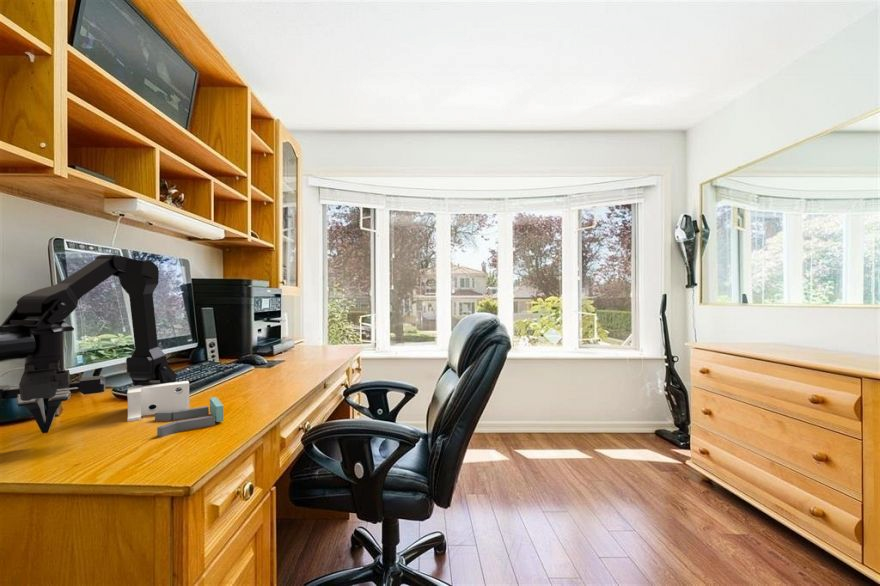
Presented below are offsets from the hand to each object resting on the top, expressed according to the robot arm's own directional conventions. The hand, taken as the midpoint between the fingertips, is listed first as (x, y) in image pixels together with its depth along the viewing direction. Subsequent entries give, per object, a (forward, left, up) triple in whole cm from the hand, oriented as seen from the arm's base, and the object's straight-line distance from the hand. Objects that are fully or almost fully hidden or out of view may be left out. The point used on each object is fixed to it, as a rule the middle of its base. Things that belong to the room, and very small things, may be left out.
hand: (45, 432), depth 82 cm
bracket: (-17, +20, +1) cm, 26 cm away
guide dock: (0, +19, -3) cm, 19 cm away
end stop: (0, +31, -3) cm, 31 cm away
